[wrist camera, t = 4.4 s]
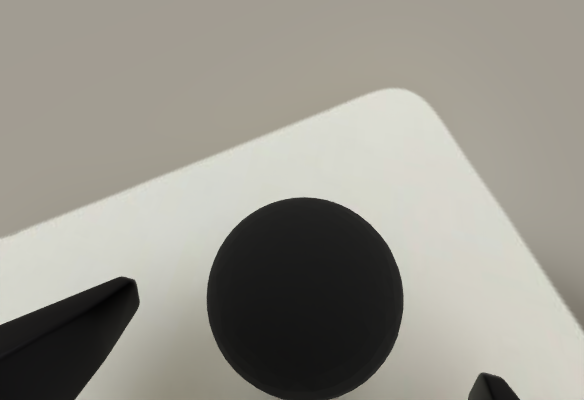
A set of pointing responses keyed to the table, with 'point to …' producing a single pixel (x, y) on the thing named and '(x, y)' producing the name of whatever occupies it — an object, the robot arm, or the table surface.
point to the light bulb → (305, 299)
